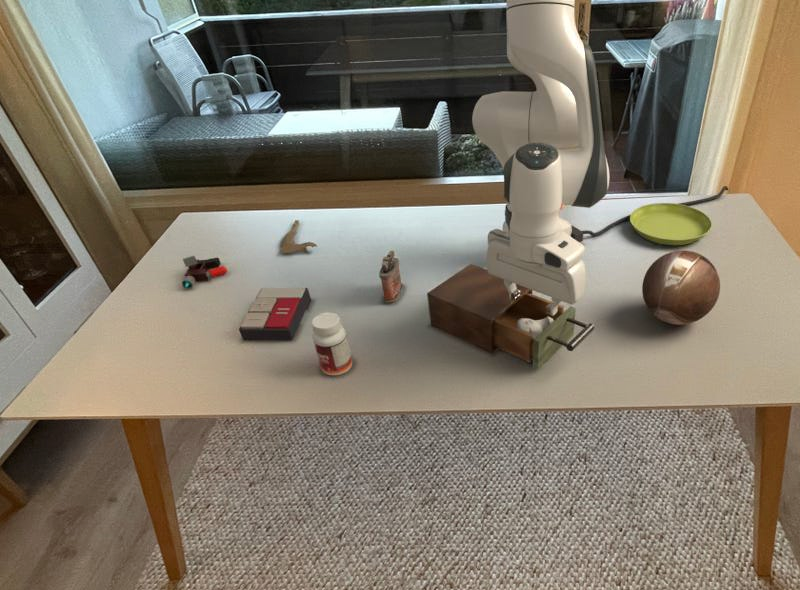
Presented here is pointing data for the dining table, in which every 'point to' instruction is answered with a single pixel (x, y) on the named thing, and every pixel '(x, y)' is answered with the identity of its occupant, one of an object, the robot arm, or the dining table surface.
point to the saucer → (670, 223)
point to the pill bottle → (331, 344)
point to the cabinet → (470, 305)
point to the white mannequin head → (533, 325)
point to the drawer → (547, 340)
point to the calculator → (275, 314)
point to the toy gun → (201, 270)
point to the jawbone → (289, 244)
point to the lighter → (391, 278)
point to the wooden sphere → (681, 287)
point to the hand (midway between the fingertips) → (532, 305)
